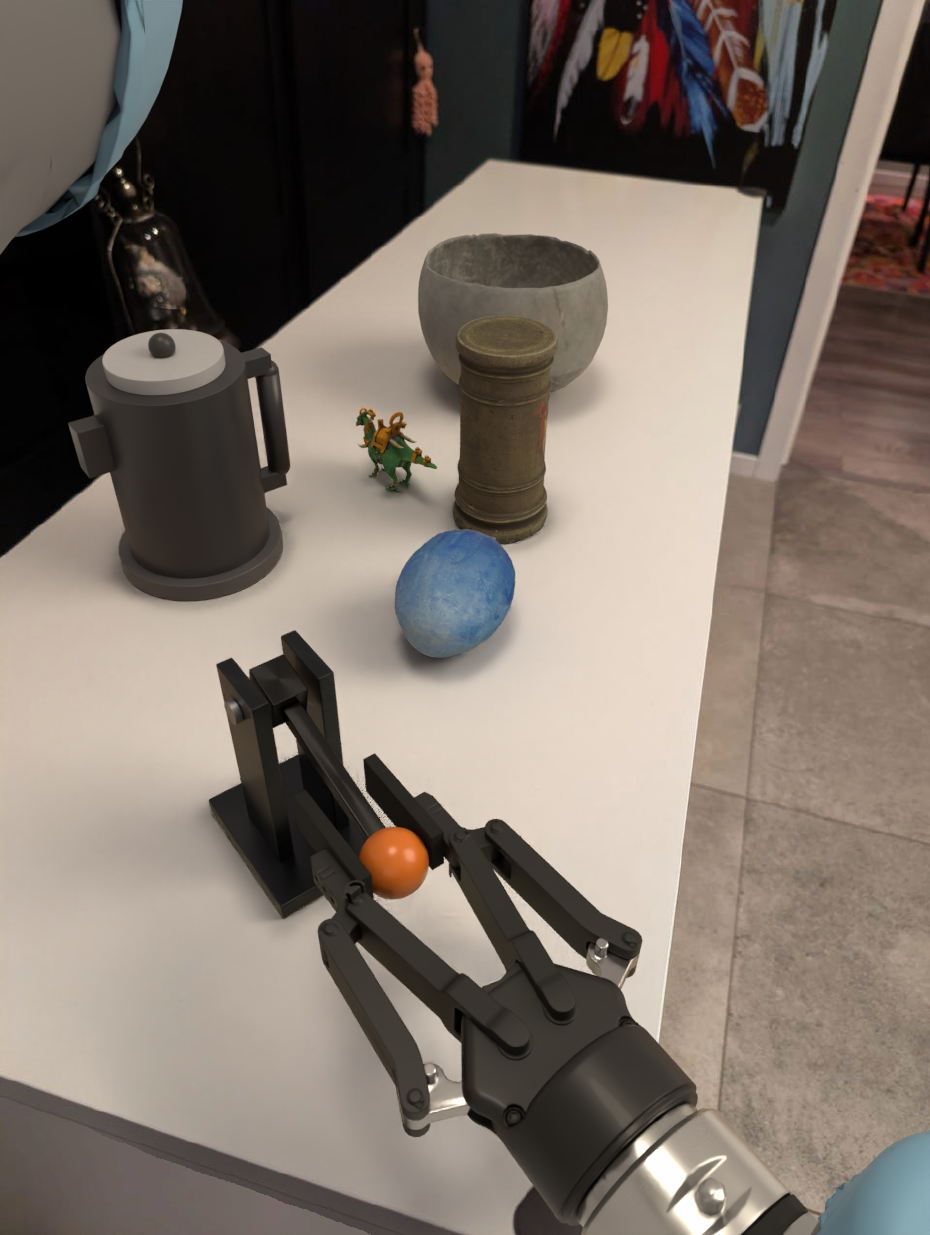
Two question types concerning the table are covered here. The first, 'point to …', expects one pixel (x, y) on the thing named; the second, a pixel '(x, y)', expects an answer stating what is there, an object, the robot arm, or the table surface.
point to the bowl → (514, 295)
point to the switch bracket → (279, 780)
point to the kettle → (187, 460)
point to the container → (503, 425)
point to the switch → (344, 786)
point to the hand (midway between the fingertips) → (337, 790)
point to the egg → (454, 592)
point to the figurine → (390, 447)
